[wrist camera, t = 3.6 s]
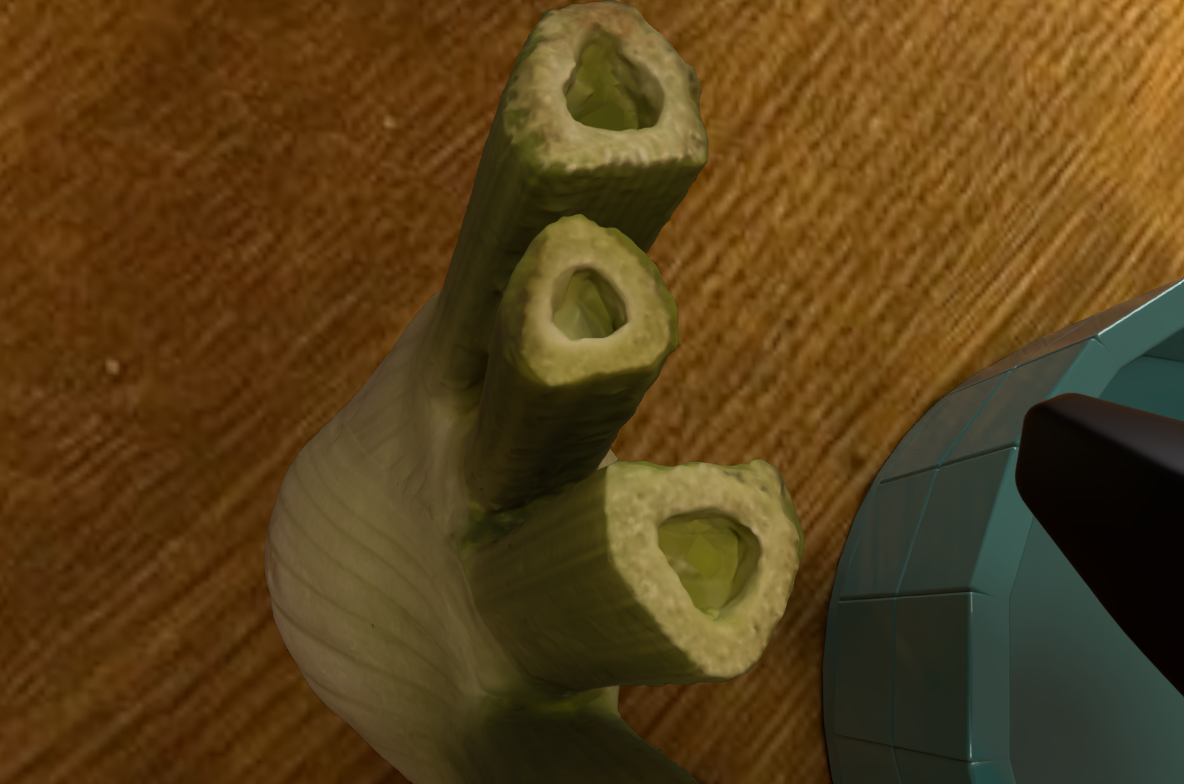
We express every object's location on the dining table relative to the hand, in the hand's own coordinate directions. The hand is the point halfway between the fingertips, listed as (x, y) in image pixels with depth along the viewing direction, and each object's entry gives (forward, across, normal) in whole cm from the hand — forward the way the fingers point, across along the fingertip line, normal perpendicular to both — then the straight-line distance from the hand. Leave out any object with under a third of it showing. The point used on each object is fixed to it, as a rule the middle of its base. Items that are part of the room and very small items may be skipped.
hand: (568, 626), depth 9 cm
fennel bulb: (+7, 0, +6) cm, 9 cm away
